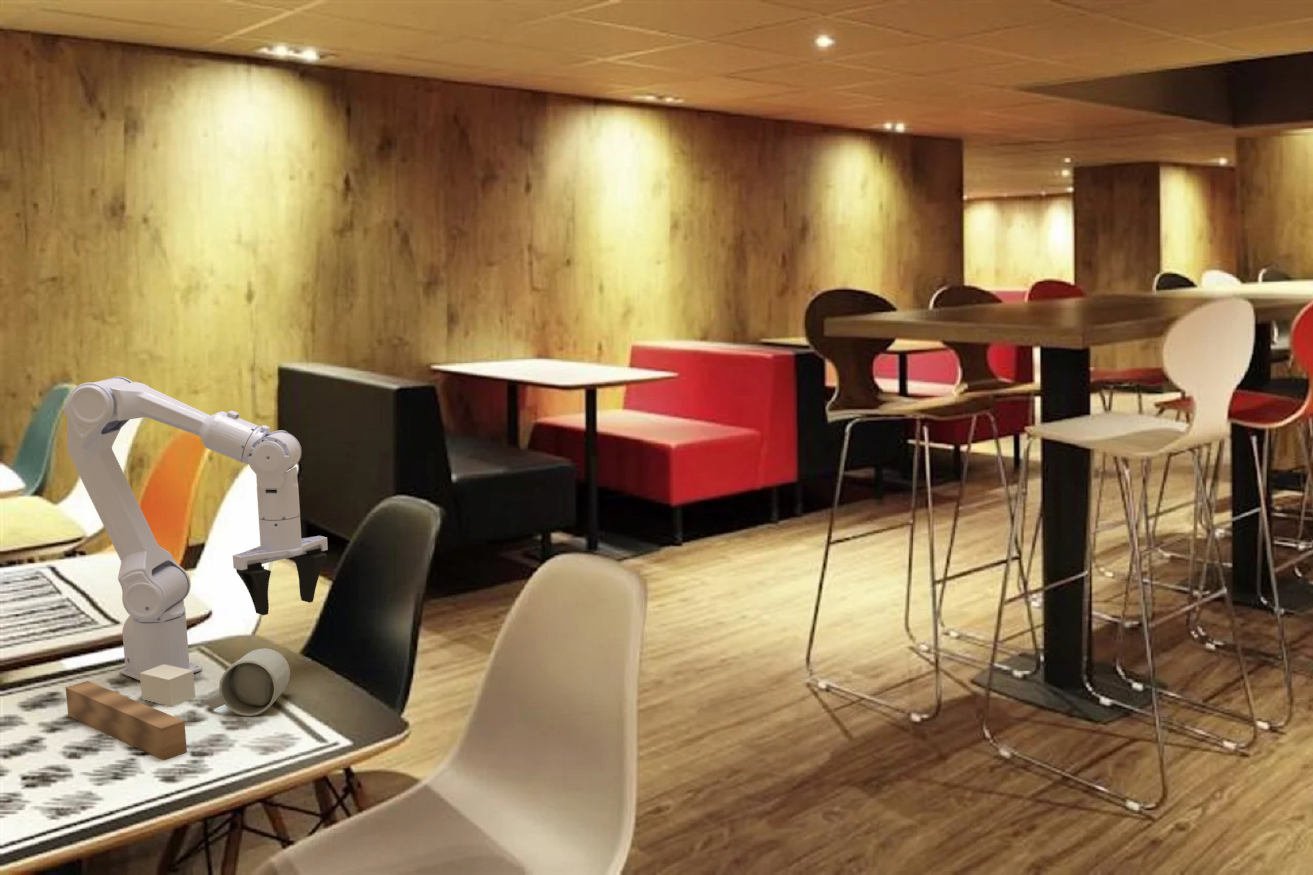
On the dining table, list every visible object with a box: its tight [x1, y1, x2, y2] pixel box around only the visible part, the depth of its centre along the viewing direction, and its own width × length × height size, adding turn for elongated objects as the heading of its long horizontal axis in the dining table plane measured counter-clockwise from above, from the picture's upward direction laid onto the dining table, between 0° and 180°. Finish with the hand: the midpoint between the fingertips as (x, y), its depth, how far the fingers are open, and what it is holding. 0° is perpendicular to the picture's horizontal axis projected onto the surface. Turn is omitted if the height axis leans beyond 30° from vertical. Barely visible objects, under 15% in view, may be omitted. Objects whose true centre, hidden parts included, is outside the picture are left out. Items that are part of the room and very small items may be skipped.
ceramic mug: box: [205, 647, 291, 717], centre depth 159 cm, size 11×8×8 cm
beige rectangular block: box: [139, 664, 196, 708], centre depth 162 cm, size 6×4×4 cm, turn 61°
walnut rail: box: [65, 680, 188, 761], centre depth 150 cm, size 24×3×4 cm, turn 52°
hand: (285, 607), depth 171 cm, fingers open, 7 cm apart
